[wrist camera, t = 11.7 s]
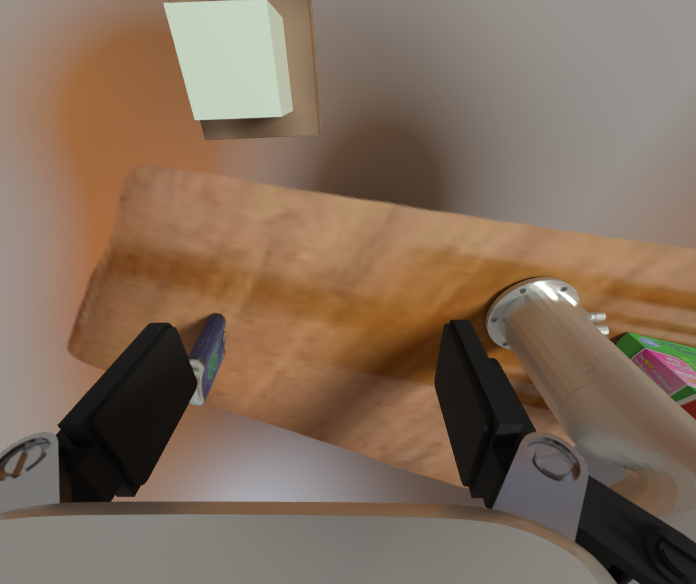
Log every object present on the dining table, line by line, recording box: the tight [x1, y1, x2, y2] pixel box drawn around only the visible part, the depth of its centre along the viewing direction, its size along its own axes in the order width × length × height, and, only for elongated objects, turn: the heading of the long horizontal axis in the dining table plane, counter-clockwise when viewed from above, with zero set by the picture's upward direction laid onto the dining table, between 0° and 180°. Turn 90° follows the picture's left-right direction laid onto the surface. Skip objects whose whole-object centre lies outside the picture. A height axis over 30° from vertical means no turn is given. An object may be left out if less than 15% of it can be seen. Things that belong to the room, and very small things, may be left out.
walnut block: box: [169, 0, 321, 140], centre depth 27 cm, size 10×10×5 cm
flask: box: [188, 313, 226, 405], centre depth 42 cm, size 9×3×11 cm, turn 166°
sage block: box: [164, 0, 293, 120], centre depth 22 cm, size 6×6×6 cm
